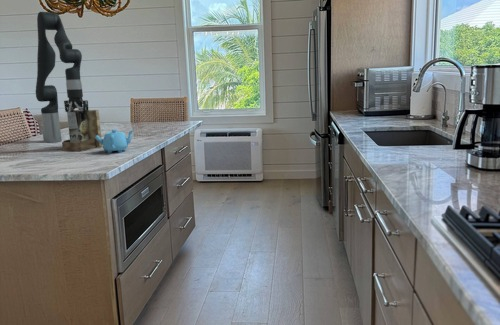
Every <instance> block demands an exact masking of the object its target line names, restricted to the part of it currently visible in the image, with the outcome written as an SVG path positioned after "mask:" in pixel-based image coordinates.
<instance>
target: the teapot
mask: <svg viewBox="0 0 500 325" xmlns="http://www.w3.org/2000/svg"><path fill="white" fill-rule="evenodd" d="M134 131H135V130H134V129H131V130H129V132H128V137H127V135H126V134H125V132H124V131H117V129H111V131H109V132H106V133H105V134H104V136H103V139H102V137H101V138H100V137H99V136H98V135H97V136H96V137H95V139H96V140H98V141H99V142H100V143H101V144H102V149H104V151H106V152H107V154H112V153H113V152H114V151H117V152H118V153H119V154H122V153H124V152H125V150H126V149H127V148H128V147H129V144H130V143H131V141H132V135H133V132H134Z"/></svg>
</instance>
